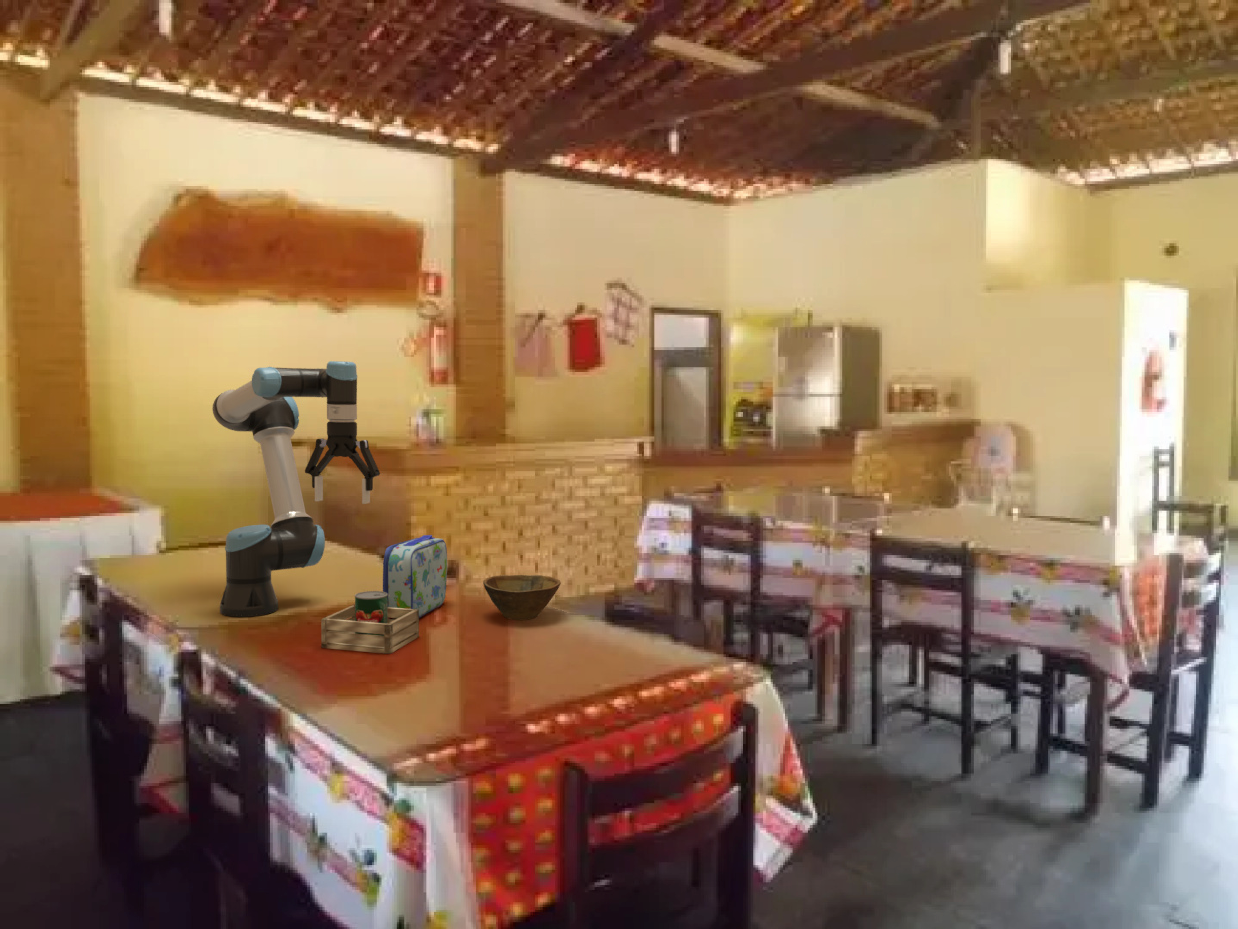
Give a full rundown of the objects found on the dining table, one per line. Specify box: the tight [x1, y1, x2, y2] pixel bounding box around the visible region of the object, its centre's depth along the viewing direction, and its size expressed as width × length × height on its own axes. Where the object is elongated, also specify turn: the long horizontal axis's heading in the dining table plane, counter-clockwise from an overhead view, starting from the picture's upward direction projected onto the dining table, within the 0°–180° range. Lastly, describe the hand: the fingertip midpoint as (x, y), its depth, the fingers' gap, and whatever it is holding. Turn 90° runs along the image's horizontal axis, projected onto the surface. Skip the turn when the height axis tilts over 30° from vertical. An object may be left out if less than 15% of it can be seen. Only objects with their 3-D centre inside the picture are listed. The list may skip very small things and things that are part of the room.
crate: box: [320, 604, 420, 655], centre depth 234 cm, size 18×16×7 cm
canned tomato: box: [354, 590, 389, 636], centre depth 234 cm, size 8×8×11 cm
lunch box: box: [382, 534, 448, 619], centre depth 265 cm, size 26×11×21 cm, turn 168°
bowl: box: [482, 574, 561, 621], centre depth 263 cm, size 22×23×10 cm
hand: (342, 502), depth 248 cm, fingers open, 13 cm apart
